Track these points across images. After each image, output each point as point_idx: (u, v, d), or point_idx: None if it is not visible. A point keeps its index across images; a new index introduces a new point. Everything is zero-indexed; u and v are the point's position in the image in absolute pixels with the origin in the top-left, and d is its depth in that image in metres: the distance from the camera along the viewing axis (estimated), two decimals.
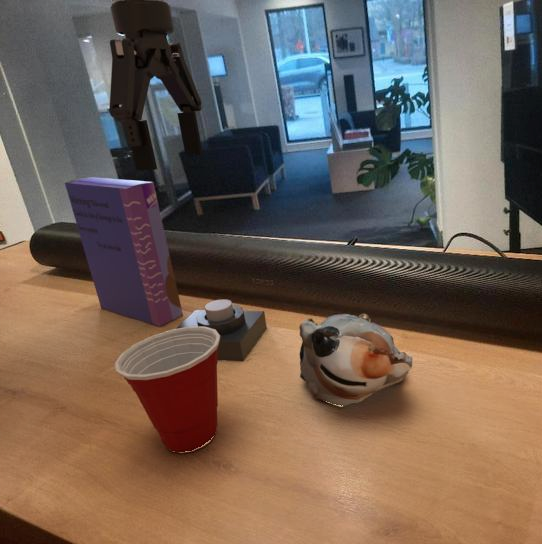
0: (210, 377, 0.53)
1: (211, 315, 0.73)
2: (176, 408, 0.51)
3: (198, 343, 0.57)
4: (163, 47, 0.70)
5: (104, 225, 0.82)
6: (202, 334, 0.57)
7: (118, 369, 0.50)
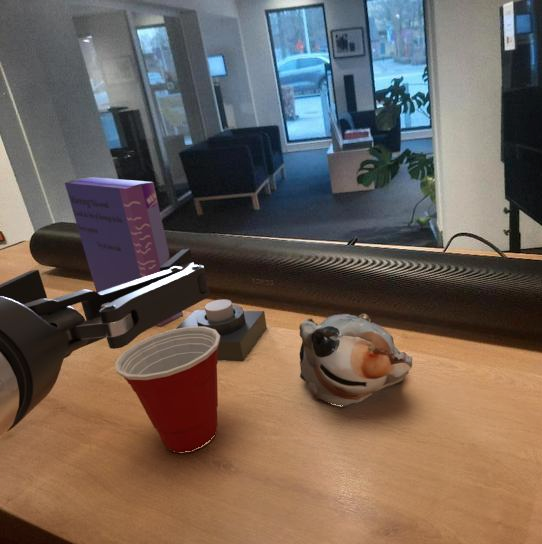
0: (210, 377, 0.53)
1: (211, 315, 0.73)
2: (176, 408, 0.51)
3: (198, 343, 0.57)
4: None
5: (104, 225, 0.82)
6: (202, 334, 0.57)
7: (118, 369, 0.50)
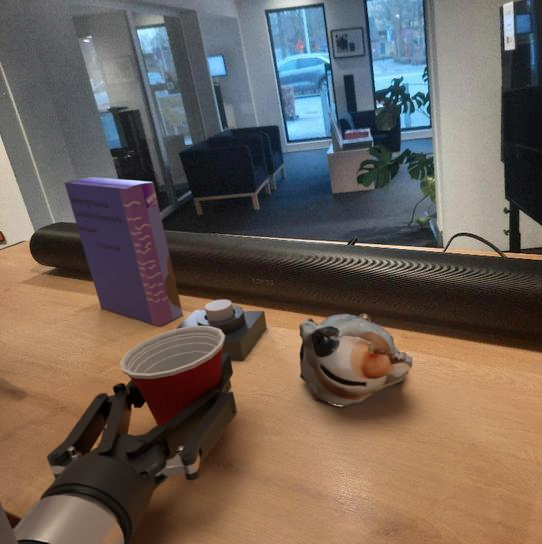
0: (214, 377, 0.53)
1: (211, 315, 0.73)
2: (180, 407, 0.51)
3: (203, 342, 0.57)
4: None
5: (104, 225, 0.82)
6: (207, 333, 0.57)
7: (123, 368, 0.50)
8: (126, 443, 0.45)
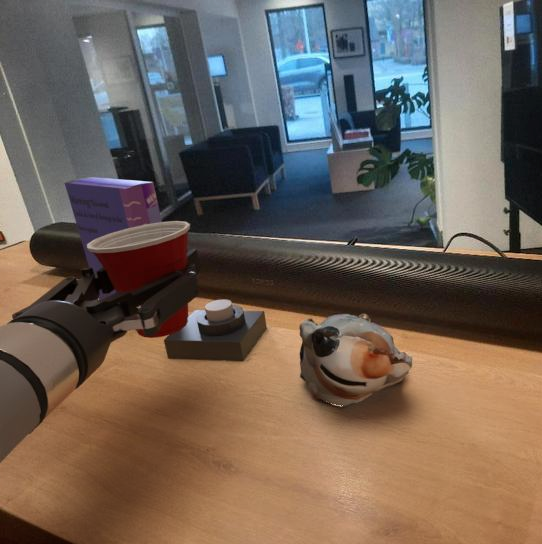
0: (178, 261, 0.55)
1: (211, 315, 0.73)
2: None
3: None
4: None
5: (104, 225, 0.82)
6: (174, 228, 0.59)
7: (89, 246, 0.52)
8: None
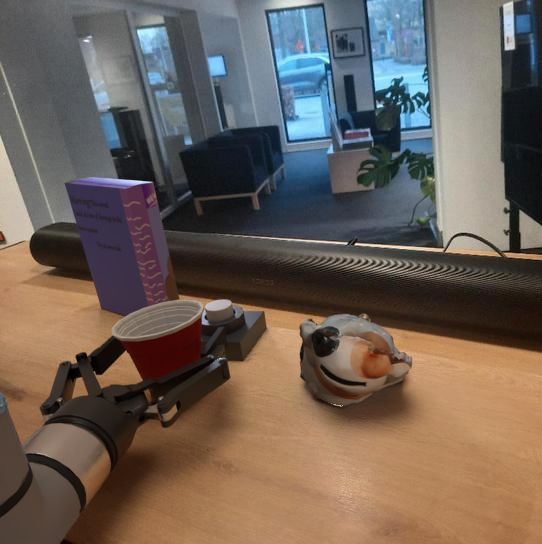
0: (194, 342, 0.60)
1: (211, 315, 0.73)
2: (164, 368, 0.58)
3: (186, 314, 0.65)
4: None
5: (104, 225, 0.82)
6: (189, 306, 0.65)
7: (114, 333, 0.58)
8: (114, 391, 0.52)
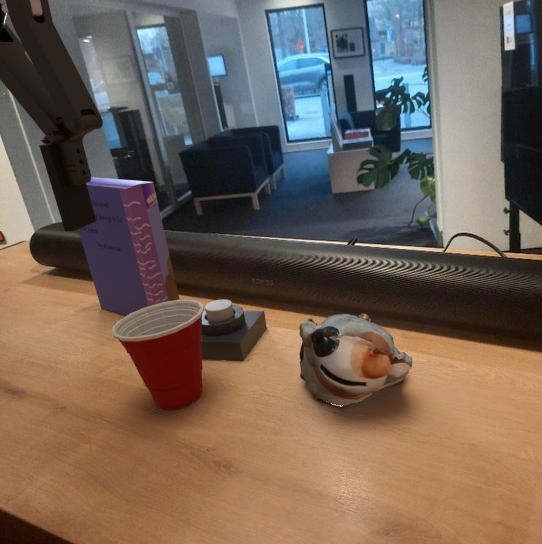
0: (194, 342, 0.60)
1: (211, 315, 0.73)
2: (164, 368, 0.58)
3: (186, 314, 0.65)
4: None
5: (104, 225, 0.82)
6: (189, 306, 0.65)
7: (114, 333, 0.58)
8: None
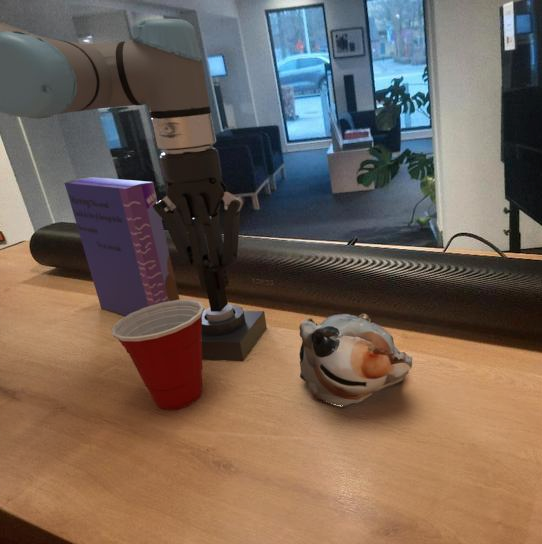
0: (194, 342, 0.60)
1: (211, 319, 0.74)
2: (164, 368, 0.58)
3: (186, 314, 0.65)
4: (205, 191, 0.67)
5: (104, 225, 0.82)
6: (189, 306, 0.65)
7: (114, 333, 0.58)
8: None
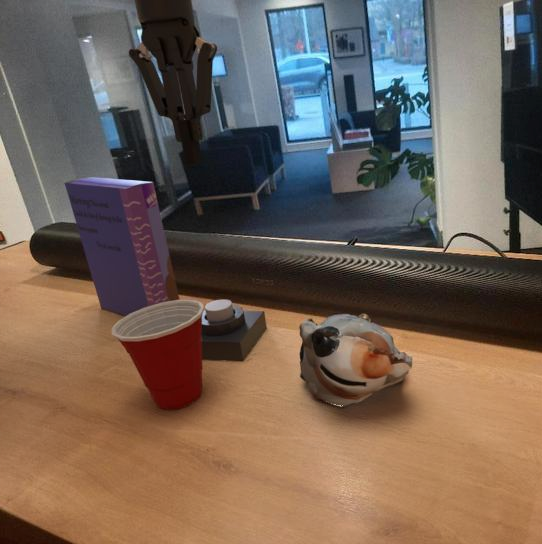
0: (194, 342, 0.60)
1: (211, 315, 0.73)
2: (164, 368, 0.58)
3: (186, 314, 0.65)
4: (178, 34, 0.69)
5: (104, 225, 0.82)
6: (189, 306, 0.65)
7: (114, 333, 0.58)
8: None
